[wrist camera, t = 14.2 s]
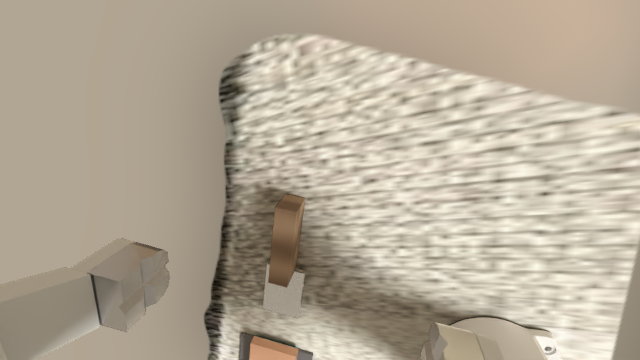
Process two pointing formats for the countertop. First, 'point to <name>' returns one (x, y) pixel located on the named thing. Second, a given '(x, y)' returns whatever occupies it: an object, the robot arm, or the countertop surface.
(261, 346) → the tile
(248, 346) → the mat
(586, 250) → the countertop surface
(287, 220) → the turner
